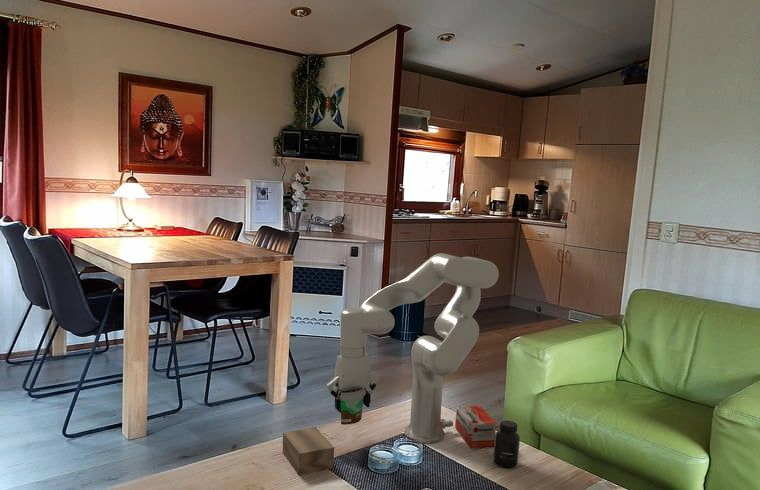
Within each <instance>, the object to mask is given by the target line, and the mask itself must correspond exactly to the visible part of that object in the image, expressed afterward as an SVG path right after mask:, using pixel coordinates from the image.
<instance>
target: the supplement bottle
mask: <svg viewBox="0 0 760 490" xmlns="http://www.w3.org/2000/svg"><path fill="white" fill-rule="evenodd" d="M499 425H500V426H499V430H497V431H496V432H495V446H494V449H493V450H494V451H493V462H494V464H495V465H497V467H500V468H502V469H508V470H509V469H515V468H517V466H518V462H519V453H520V442H521V437H520V434H519V433H518V424H517V423H516V422H515V421H511V420H502V421H500V424H499Z"/></svg>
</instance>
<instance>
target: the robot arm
mask: <svg viewBox="0 0 760 490" xmlns="http://www.w3.org/2000/svg"><path fill="white" fill-rule="evenodd" d="M499 274H500V273H499V269H498V267H497V266H496V264H495V263H493V262H492V261H489V260H486V259H481V258H478V257H472V256H463V257H461V256H457V255H451V254H448V253H440V252H439V253H436V254H434V255H432V256H431V257H430V258H428V259H427V260H426V261H424V262H423V263H422V264H421V265H420V266H419V267H417V268H416V269H415V270H414V271H412V272H411V273H410V274H408V275H407V276H406V277H404V278H403V279H401V280H398V281H396V282H394V283H392V284H390V285H388V286H385V287H384V288H382V289H380V290H378V291H377V292H375V293H374V294H373V295H371V296H370V297H369V298H368V299H366V300H365V301H364V302H363V303H362V304H361V305H360V307H358V308H357V307H356V308H354V307H352V308H345V309H343V310H342V311H341V312H340V325H339V326H340V338H339V339H340V343H339V344H340V348H339V351H340V354H339V355H337V357H336V362H335V367H334V378H332V380H330V381H329V382H328V383H327V384H326V385H325V388H326V390H327V391H328V392H329V394H330V395H332V396H333V398H334V409H335V410H337V412H338V413H340V414H341V400H340V396H341V393H344V391H351V390H357V389H362V388H365V389H366V394H365V395H364V397H363V405H364V406H365V407H366V408H370V406H371V405H370V404H371V401H372V400H371V398H372V397H371V395H372V393H373V391H374V390H375V388H376V386H377V385H378V383H379V381H380V377H379V376H377V375H375V374H373V373H371V366H370V360H369V355H368V353H367V351H368V350H369V351H370V350H371V346H370V344H367V335H384V334H388V333H389V332H392V330H393V328H394V326H395V317H394V315H393V314H392V312H390V310H392V309H394V308H396V307H399V306H403V305H409V304H414V303H420V302H421V301H424V300H425V299H426V298H427V297H428V296H429V295H431V293H433V292H435V290H436V289H437V288H439V287H440V286H441V285H443V283H446V284H450V285H452V286H456V287H455V288H456V289H455V292H454V294H453V296H452V297H451V298H450V300H449V301H448V303H447V304H446V305H445V306H444V308H443V309H442V311H441V312H440V314H439V315H438V316H437V318H436V320H435V322H434V326H433V327H434V330H435V333H437V335H438V336H440V338H443V341H442V340H440V339H438V338H436V337H434V336H430V335H422V336H420V337H418V338H417V339H416V340H415V341H414V342H413V344H412V346H411V352H410V354H411V355H410V357H411V358H410V359H411V366H412V382H411V383H412V386H411V400H410V401H411V402H410V403H411V405H410V421H409V423H410V424H409V425H408V426H406V427H405V429H404V435H405V436H406V437H407V438H408V437H409V438H411V439H414V440H417V441H420V442H419V443H421V442H422V444H434V443H438V442H441V441H442V440H444V439H445V431H444V429H446V428H450V427H453V426H454V422H453V420H446V419H445V418H442V417H441V416H442V400H443V386H444V385H443V383H444V377H448V376H450V375H452V374H454V373H455V371H457V369H458V368H459V367H460V366H461V364H462V363H463V362H464V360H465V359H466V358H467V356H468V355H469V354H470V352H471V350H472V349H473V347H474V346H475V345H476V343H477V341H478V339H479V335H480V326H479V324H478V322H477V320H476V319H475V318H474V317H473V316H474V314H475V313H476V311H477V309H478V308H479V306H480V303H481V299H482V297H481V296H482V295H481V291H482V290H481V289H489V288H491V287H493V286H495V285H496V283H497V282H498V279H499V276H500V275H499ZM334 387H335V388H336V389H335V390H334V389H333V388H334ZM409 438H408V439H409ZM411 439H410V440H411Z"/></svg>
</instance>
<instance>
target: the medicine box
mask: <svg viewBox="0 0 760 490" xmlns="http://www.w3.org/2000/svg"><path fill="white" fill-rule="evenodd" d="M455 411H456V412H455V427H454V428H455V430H456V432H457V433H458V434H459V435H460V437H461V439H462V440H463V441H464V443H465V444H466V445H467V446H468V448H469V449H470V450H474V449H475V450H476V449H488V448H489V449H490V448H494V449H495V438H496V433H497V431H496V429H497V422H496V421H495V420H494V419H493V418H492V417H491V416H490V415H489V413H488V412H487V411H485V410H484V409H483V407H482V406H480V405H460V406H459V405H458V406H456V410H455Z"/></svg>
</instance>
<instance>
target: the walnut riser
mask: <svg viewBox="0 0 760 490" xmlns="http://www.w3.org/2000/svg"><path fill="white" fill-rule="evenodd" d="M282 454H283V455H284V457H285V458H286V460H287V461H288V462H289V464H290V465H291V466H292V468H293V470H294V471H295V472H296V474H297V475H298V476H301V475H307V474H312V473H317V472H321V471H327V470H331V469H334V463H335V462H334V460H335V447H334V445H332V443H331V442H330V441H328V439H327V438H326V436H325V435H323V433H322V432H321V431H320V430H319V429H318V428H317V427H316V426H315V427H310V428H302V429H298V430H297V429H296V430H292V431H291V430H290V431H284V432H282Z"/></svg>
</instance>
